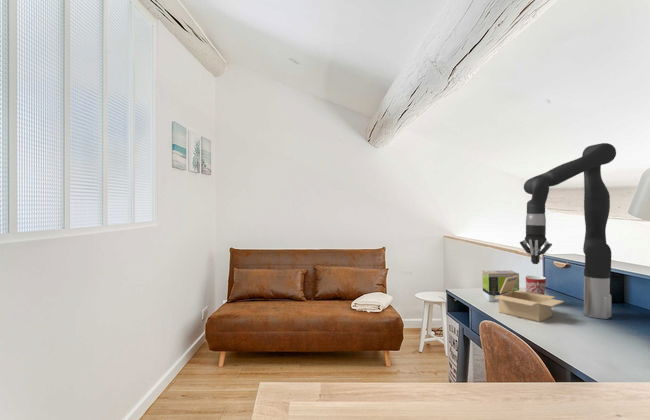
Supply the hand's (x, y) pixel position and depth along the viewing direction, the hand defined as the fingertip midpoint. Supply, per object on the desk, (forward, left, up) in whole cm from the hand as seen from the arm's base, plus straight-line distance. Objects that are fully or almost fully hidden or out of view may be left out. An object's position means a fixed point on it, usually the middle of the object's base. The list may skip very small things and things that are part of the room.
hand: (535, 263), depth 162 cm
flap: (+13, 0, -15) cm, 20 cm away
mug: (+10, -23, -24) cm, 34 cm away
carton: (+2, 0, -23) cm, 23 cm away
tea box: (+24, -17, -24) cm, 38 cm away
